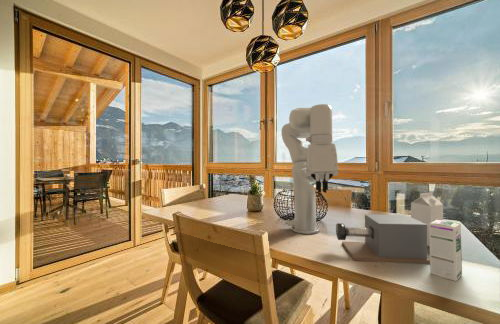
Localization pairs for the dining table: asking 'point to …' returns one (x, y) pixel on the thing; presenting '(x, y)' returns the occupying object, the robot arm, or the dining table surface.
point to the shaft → (352, 231)
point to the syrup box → (445, 249)
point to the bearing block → (391, 240)
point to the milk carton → (427, 210)
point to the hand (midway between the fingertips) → (321, 191)
